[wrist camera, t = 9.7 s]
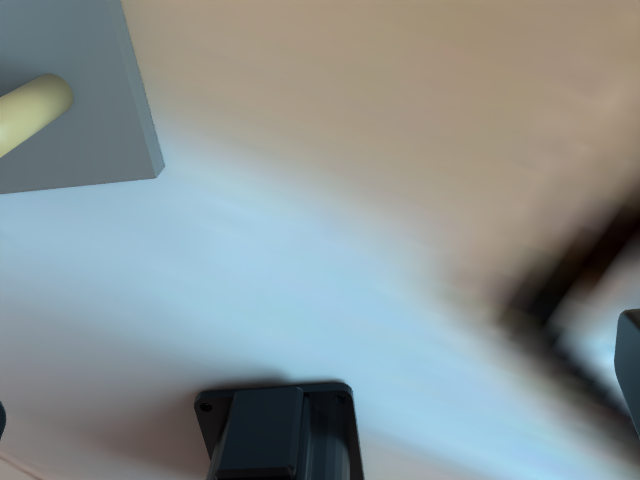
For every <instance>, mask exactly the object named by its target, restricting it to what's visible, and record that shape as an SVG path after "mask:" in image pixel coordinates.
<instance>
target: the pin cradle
mask: <svg viewBox="0 0 640 480" xmlns="http://www.w3.org/2000/svg"><path fill="white" fill-rule="evenodd" d="M0 91H1V94H2V97H0V194H6V193H16V192H26V191H36V190H46V189H55V188H65V187H75V186H85V185H95V184H105V183H114V182H124V181H134V180H144V179H154V178H157V176H158V175H159V174H160V172H161V171H162V170H163V168H164V167H165V165H164V161H163V158H162V154H161V150H160V146H159V143H158V139H157V135H156V132H155V128H154V124H153V121H152V117H151V113H150V109H149V106H148V102H147V98H146V95H145V91H144V87H143V84H142V80H141V76H140V72H139V69H138V65H137V61H136V58H135V54H134V50H133V47H132V43H131V39H130V35H129V32H128V28H127V24H126V21H125V17H124V13H123V9H122V6H121V2H120V0H0Z"/></svg>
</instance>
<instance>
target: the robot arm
mask: <svg viewBox="0 0 640 480" xmlns="http://www.w3.org/2000/svg"><path fill="white" fill-rule="evenodd" d="M614 366H615V372H616V376H617V379H618V382H619V385H620V388H621V390H622V393H623V396H624V398H625V401H626V404H627V406H628V409H629V412H630V414H631V417H632V420H633V423H634V425H635V428H636V431H637V433H638V436H639V439H640V309H631V310H625V311H623V312H622V313H621V314H620V316H619V319H618V326H617V336H616V346H615V356H614ZM336 395H343V396H344V397H337V396H336ZM205 403H209V404H211V405H206V404H205ZM194 409H195V412H196V415H197V418H198V422H199V425H200V428H201V431H202V435H203V438H204V441H205V444H206V448H207V451H208V454H209V457H210V460H211V463H210V467H209V471H208V474H207V478H206V480H365V478H364V471H363V463H362V456H361V448H360V441H359V434H358V426H357V419H356V412H355V404H354V397H353V391H352V389H351V387H350V386H348V385H346V384H344V383H332V384H316V385H299V386H283V387H267V388H250V389H234V390H217V391H204V392H201V393H199V394H198V396H197V397H196V400H195V403H194ZM5 425H6V412H5V409H4V407H3V405H2V403H1V401H0V439H1V436H2V434H3V431H4V428H5Z"/></svg>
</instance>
